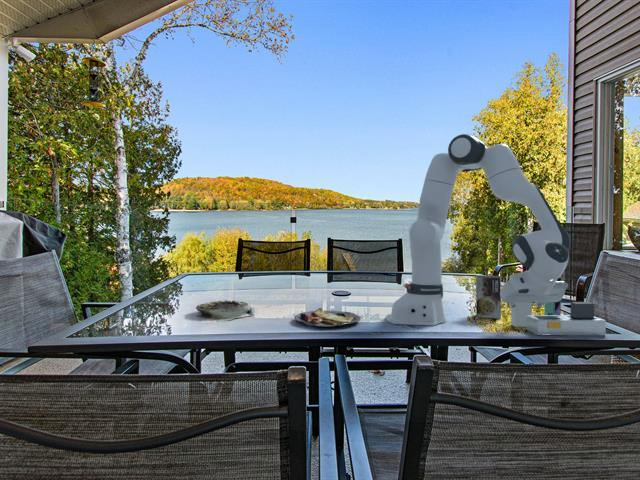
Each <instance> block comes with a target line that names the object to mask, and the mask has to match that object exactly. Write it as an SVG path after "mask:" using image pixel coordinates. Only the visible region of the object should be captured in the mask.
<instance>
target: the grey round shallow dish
mask: <svg viewBox="0 0 640 480" xmlns="http://www.w3.org/2000/svg"><path fill="white" fill-rule="evenodd" d="M195 309H196V310H197V311H198V312H199V313H200V316H201V317H203V318H206V319H212V320H211V322H216V323H217V322H224V321H232V320H236V318H237V319H242V318H243V317H244V318H246V317H250V316H253V315H254V313H253V310H252V309H253V307H252V306H251V304H249V303H248V302H245V301H237V300H227V299H226V300H218V301H210V302H206V303H201V304H198V305H196V306H195ZM246 315H247V316H246ZM199 321H200V322H201V321H202V322H204V321H205V320H199Z"/></svg>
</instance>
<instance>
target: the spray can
mask: <svg viewBox="0 0 640 480" xmlns="http://www.w3.org/2000/svg"><path fill="white" fill-rule="evenodd" d="M561 281H562V275H561V276H560V277H559V278H558V279H557V282H561ZM543 306H544V313H543V315H562V313H561V312H562V311H561V310H562V300H561V301H559V302H548V303H546V304H544V305H543Z"/></svg>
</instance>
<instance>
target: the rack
mask: <svg viewBox="0 0 640 480" xmlns="http://www.w3.org/2000/svg"><path fill="white" fill-rule="evenodd" d="M606 322H607V320H606V319H602V318H601V317H597V316H595V303H593V302H591V301H571V302H570V314H564V315H563V314H561V315H544V314H535V315H534V314H532V315H526V327H525V329H526V330H527V331H529V332H530V333H532V334H534V335H536V334H537V335H536V336H538V335H543V334H550V335H567V336H606V329H607V328H606V326H607V325H606Z"/></svg>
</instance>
